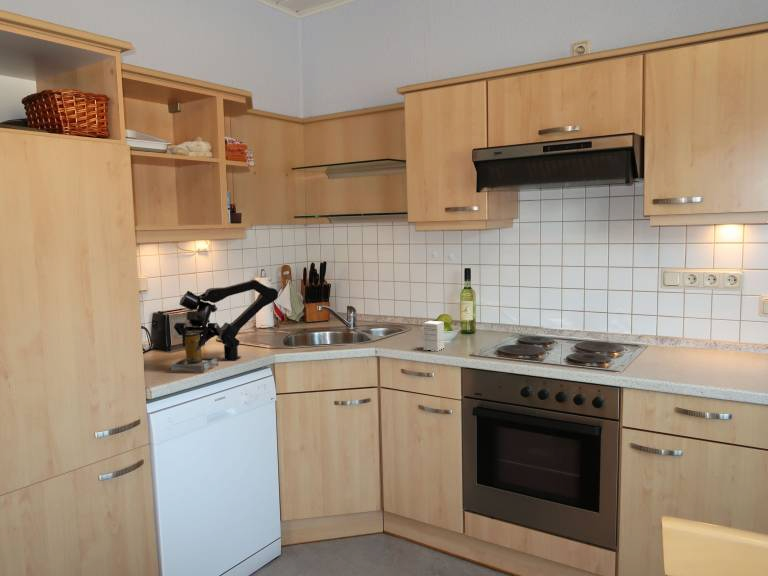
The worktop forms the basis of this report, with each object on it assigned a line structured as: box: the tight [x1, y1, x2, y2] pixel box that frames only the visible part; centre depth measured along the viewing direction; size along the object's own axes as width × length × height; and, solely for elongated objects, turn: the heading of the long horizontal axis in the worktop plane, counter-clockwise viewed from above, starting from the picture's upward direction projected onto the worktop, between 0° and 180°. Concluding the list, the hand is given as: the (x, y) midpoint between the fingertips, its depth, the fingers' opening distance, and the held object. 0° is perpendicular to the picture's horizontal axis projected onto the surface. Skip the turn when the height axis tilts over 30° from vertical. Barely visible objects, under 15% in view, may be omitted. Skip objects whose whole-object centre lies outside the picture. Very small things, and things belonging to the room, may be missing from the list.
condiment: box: [182, 332, 208, 365], centre depth 254 cm, size 7×8×12 cm
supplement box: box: [422, 320, 445, 352], centre depth 281 cm, size 7×7×13 cm
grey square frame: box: [169, 357, 219, 374], centre depth 255 cm, size 14×14×3 cm
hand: (191, 346), depth 253 cm, fingers open, 7 cm apart
